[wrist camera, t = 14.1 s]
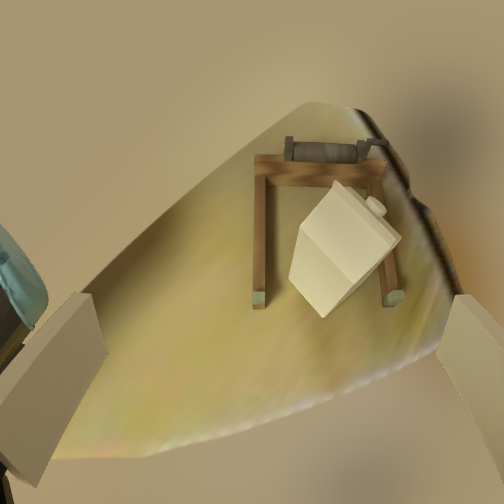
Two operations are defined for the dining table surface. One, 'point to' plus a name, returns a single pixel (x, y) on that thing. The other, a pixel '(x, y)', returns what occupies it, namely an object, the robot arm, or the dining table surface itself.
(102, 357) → the robot arm
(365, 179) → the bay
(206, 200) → the dining table surface
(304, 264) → the milk carton
